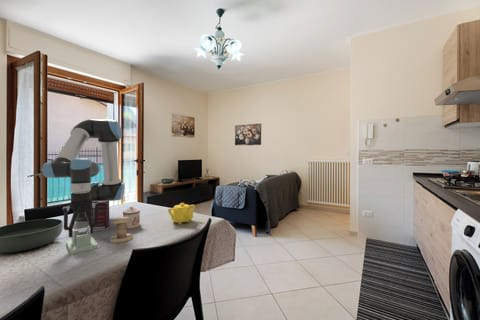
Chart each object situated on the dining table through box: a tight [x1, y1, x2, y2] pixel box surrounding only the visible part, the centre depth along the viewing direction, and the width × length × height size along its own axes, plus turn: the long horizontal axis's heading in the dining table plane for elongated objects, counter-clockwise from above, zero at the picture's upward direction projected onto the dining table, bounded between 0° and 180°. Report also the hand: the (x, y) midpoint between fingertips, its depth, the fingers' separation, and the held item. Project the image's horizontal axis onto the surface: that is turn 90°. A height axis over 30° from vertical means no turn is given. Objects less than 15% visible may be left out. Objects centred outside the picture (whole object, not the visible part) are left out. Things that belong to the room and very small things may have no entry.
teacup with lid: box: [122, 205, 141, 230], centre depth 132 cm, size 12×9×12 cm
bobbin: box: [109, 216, 134, 244], centre depth 112 cm, size 10×10×10 cm
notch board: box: [66, 227, 99, 255], centre depth 103 cm, size 14×10×6 cm
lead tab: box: [77, 227, 87, 235], centre depth 102 cm, size 6×3×6 cm, turn 43°
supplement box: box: [90, 201, 111, 232], centre depth 125 cm, size 9×5×16 cm, turn 98°
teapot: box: [167, 202, 196, 226], centre depth 139 cm, size 14×14×12 cm
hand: (81, 242), depth 103 cm, fingers open, 5 cm apart
